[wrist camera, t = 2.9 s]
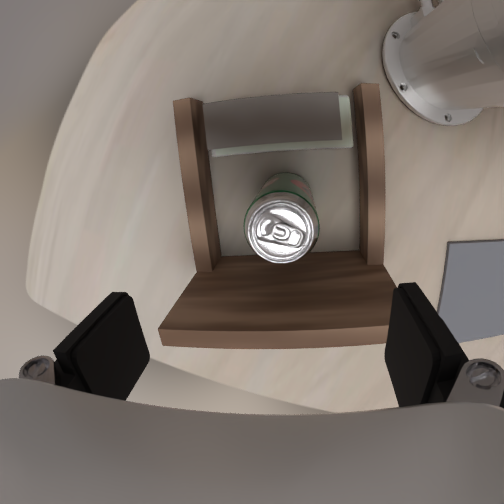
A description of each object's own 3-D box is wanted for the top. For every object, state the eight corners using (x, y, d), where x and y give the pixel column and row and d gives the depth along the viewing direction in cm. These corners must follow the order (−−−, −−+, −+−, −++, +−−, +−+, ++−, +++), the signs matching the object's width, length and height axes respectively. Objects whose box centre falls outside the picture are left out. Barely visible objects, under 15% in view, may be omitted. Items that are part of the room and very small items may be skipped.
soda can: (270, 164, 30) (255, 181, 19) (319, 182, 30) (333, 210, 19) (254, 211, 32) (231, 254, 21) (301, 228, 32) (302, 280, 21)
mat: (447, 241, 30) (449, 243, 29) (530, 238, 28) (532, 240, 27) (429, 344, 35) (431, 347, 34) (507, 330, 33) (509, 333, 32)
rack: (187, 104, 29) (114, 88, 16) (368, 89, 26) (421, 59, 13) (209, 269, 35) (162, 345, 22) (373, 262, 32) (412, 340, 19)
